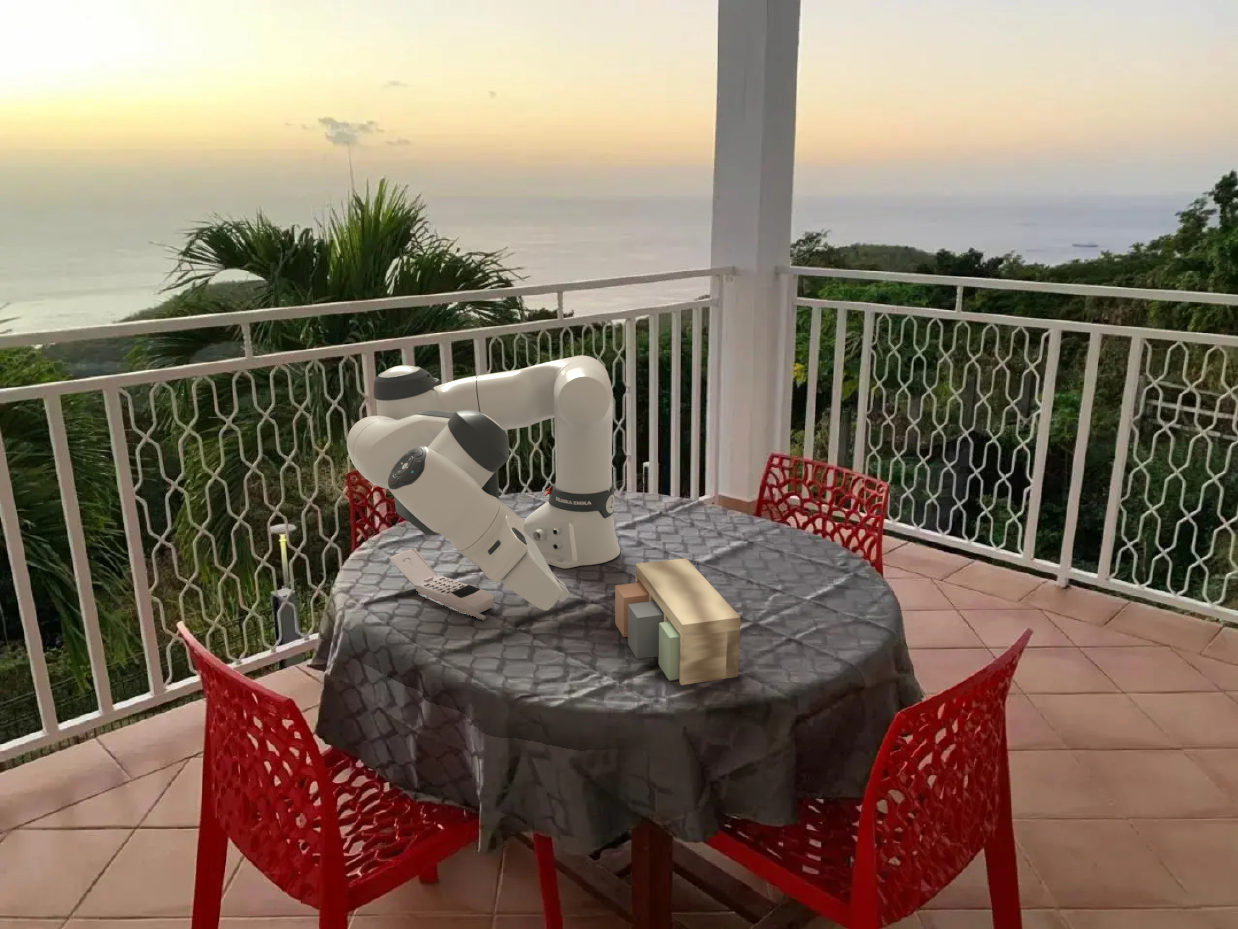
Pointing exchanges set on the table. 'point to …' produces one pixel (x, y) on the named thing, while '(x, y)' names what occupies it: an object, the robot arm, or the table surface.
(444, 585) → the mobile phone
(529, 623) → the table surface
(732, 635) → the key console
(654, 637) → the slate key
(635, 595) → the terracotta key
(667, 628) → the sage key
